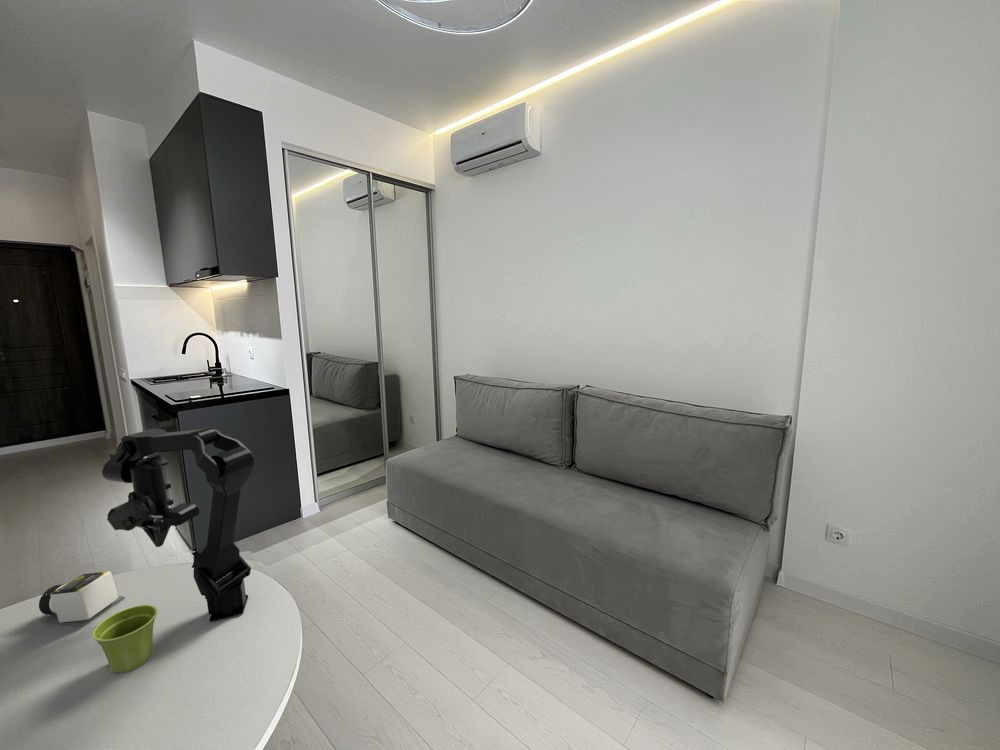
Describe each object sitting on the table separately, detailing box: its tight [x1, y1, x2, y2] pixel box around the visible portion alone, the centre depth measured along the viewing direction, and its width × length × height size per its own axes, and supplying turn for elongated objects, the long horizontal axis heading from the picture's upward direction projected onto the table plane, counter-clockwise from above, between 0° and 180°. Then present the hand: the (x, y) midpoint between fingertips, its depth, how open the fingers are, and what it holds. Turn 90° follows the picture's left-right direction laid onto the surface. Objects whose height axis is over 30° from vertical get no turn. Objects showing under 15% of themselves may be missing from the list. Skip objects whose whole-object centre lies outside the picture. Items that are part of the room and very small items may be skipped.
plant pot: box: [91, 604, 158, 674], centre depth 81 cm, size 9×9×9 cm
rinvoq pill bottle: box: [38, 570, 119, 622], centre depth 94 cm, size 7×7×12 cm
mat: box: [40, 595, 126, 628], centre depth 95 cm, size 11×9×1 cm
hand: (159, 546), depth 98 cm, fingers closed
